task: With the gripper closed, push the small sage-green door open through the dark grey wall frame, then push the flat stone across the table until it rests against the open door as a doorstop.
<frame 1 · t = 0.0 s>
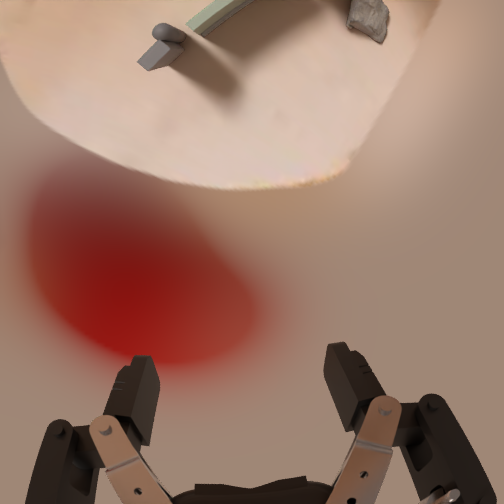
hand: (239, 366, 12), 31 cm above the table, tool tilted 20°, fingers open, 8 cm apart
stone: (360, 4, 22), on the table
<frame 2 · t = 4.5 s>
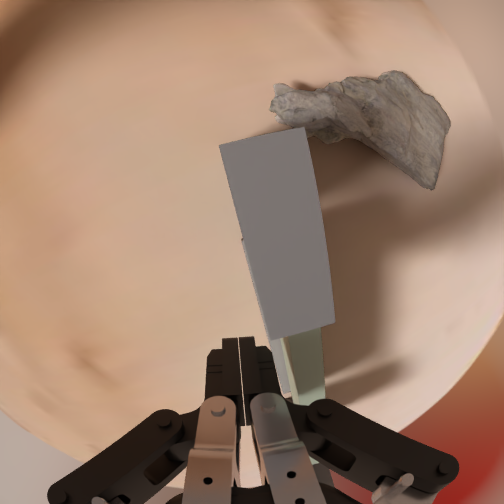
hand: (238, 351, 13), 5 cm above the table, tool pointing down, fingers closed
stone: (373, 123, 14), on the table
door frame: (282, 322, 18), on the table
door: (309, 363, 15), point 4 cm above the table, hinge at 1.6°, touching gripper
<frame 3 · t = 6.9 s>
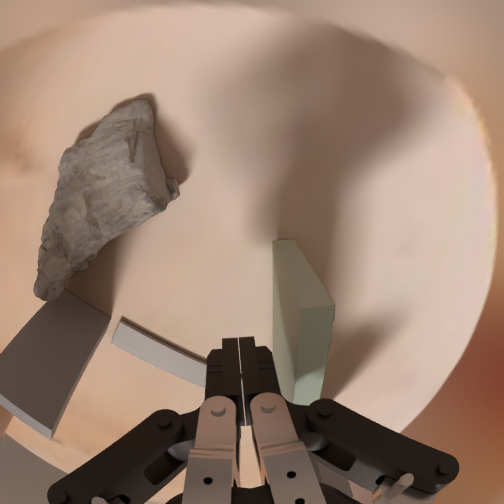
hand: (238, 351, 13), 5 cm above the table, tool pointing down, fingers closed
stone: (105, 198, 15), on the table
door frame: (193, 369, 19), on the table
door: (301, 374, 15), point 4 cm above the table, hinge at 54.4°, touching gripper
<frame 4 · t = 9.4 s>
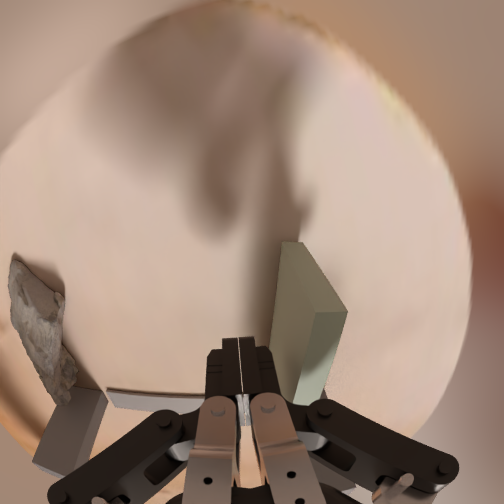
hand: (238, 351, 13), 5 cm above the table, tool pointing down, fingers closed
stone: (50, 323, 18), on the table
door frame: (175, 403, 21), on the table
door: (297, 377, 15), point 4 cm above the table, hinge at 95.5°, touching gripper
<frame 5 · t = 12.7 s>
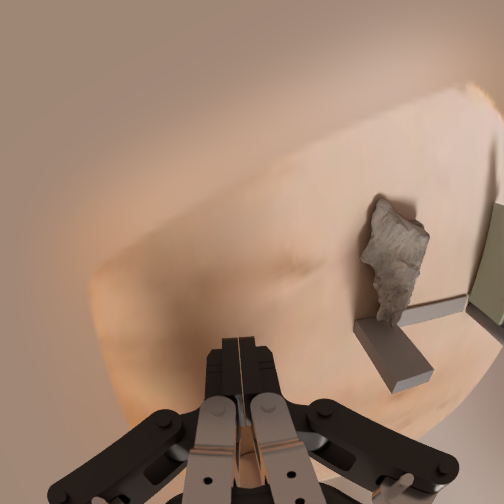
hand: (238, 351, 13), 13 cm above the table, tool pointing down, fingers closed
stone: (384, 255, 26), on the table
door frame: (430, 311, 29), on the table
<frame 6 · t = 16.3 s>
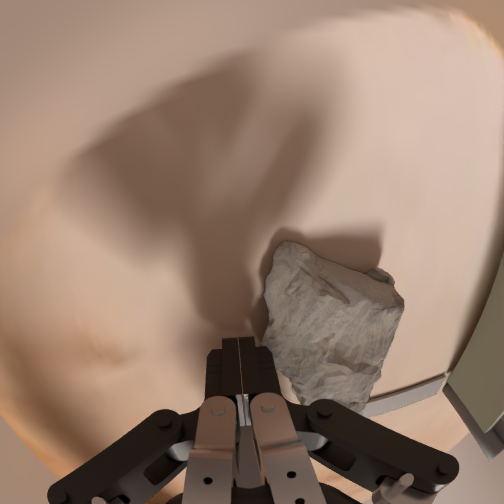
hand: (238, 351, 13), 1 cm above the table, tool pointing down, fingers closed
stone: (319, 333, 15), on the table, touching gripper
door frame: (375, 406, 18), on the table
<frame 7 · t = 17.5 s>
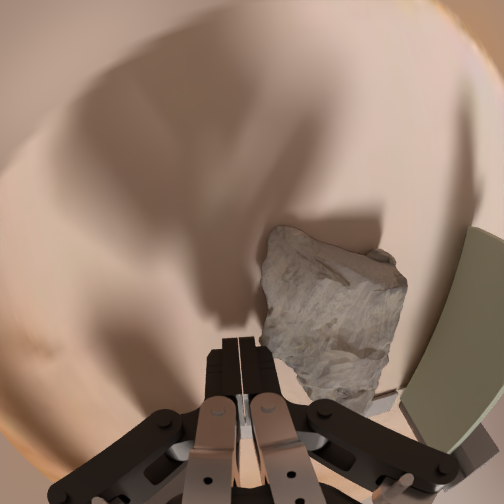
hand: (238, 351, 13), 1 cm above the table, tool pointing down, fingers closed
stone: (322, 320, 15), on the table, touching gripper
door frame: (309, 420, 17), on the table
door: (475, 355, 12), point 4 cm above the table, hinge at 95.4°
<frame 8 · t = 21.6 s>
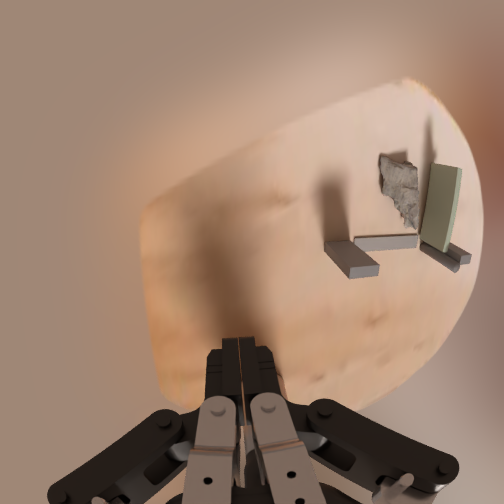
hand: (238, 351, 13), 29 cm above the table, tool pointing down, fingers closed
stone: (395, 187, 41), on the table
door frame: (385, 243, 44), on the table
door: (443, 206, 38), point 4 cm above the table, hinge at 95.4°
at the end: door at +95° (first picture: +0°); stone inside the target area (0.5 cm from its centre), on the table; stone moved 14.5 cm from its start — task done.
